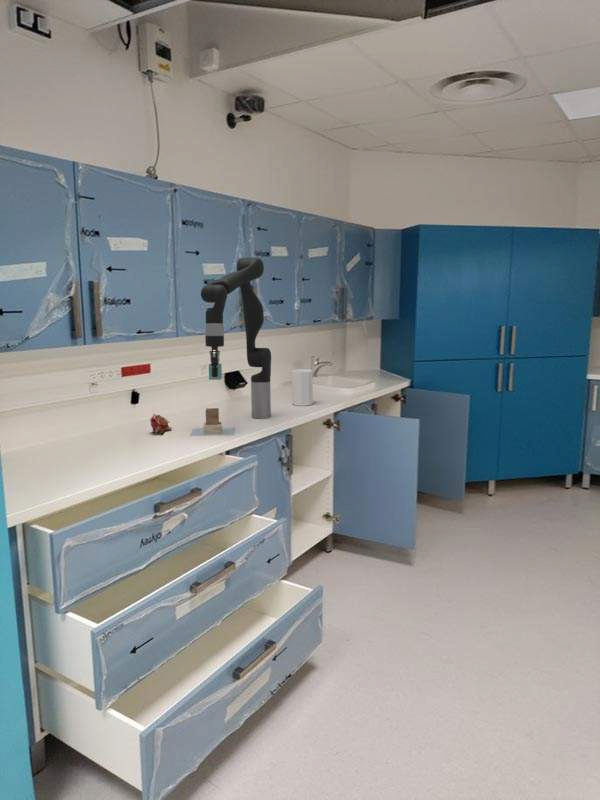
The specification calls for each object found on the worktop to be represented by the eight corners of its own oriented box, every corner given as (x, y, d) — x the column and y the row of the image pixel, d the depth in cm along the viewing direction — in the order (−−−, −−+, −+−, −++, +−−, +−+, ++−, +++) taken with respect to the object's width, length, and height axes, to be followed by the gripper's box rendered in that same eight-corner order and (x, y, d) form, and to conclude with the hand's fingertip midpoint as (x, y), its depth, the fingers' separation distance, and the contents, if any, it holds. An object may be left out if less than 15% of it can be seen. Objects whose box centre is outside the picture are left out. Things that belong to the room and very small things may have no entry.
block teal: (209, 378, 240) (209, 363, 239) (221, 377, 241) (221, 363, 240) (208, 379, 235) (208, 365, 234) (221, 379, 236) (221, 365, 235)
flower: (144, 432, 239) (155, 416, 238) (144, 423, 247) (154, 408, 246) (164, 442, 243) (175, 428, 242) (163, 434, 251) (173, 419, 250)
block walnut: (206, 422, 242) (206, 408, 241) (218, 422, 242) (218, 408, 241) (206, 425, 237) (205, 410, 236) (218, 424, 237) (217, 410, 236)
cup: (303, 402, 320) (303, 368, 317) (317, 404, 311) (317, 370, 308) (287, 404, 313) (287, 370, 310) (300, 407, 304) (300, 372, 301)
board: (193, 431, 248) (192, 428, 248) (235, 430, 250) (235, 427, 250) (189, 438, 235) (189, 435, 234) (234, 437, 236) (234, 434, 236)
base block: (204, 430, 243) (204, 422, 243) (221, 430, 244) (221, 421, 243) (203, 434, 236) (203, 425, 236) (221, 434, 237) (220, 425, 236)
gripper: (223, 335, 229) (223, 377, 231) (224, 334, 243) (224, 374, 245) (204, 335, 228) (204, 378, 230) (206, 334, 242) (207, 374, 245)
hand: (215, 376), depth 238 cm, fingers closed on block teal, 5 cm apart
